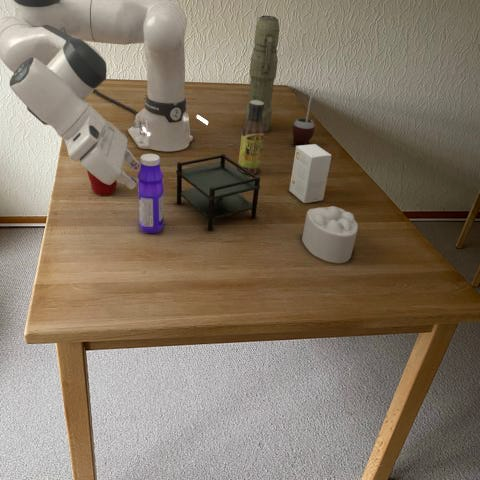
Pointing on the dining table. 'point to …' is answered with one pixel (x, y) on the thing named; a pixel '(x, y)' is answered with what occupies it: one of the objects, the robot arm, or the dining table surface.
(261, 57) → the stone statue
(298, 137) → the mate gourd
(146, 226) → the bottle
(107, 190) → the plastic cup
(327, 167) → the small box
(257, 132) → the sauce bottle
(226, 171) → the tray
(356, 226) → the lumpy-topped squat cylinder
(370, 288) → the dining table surface
